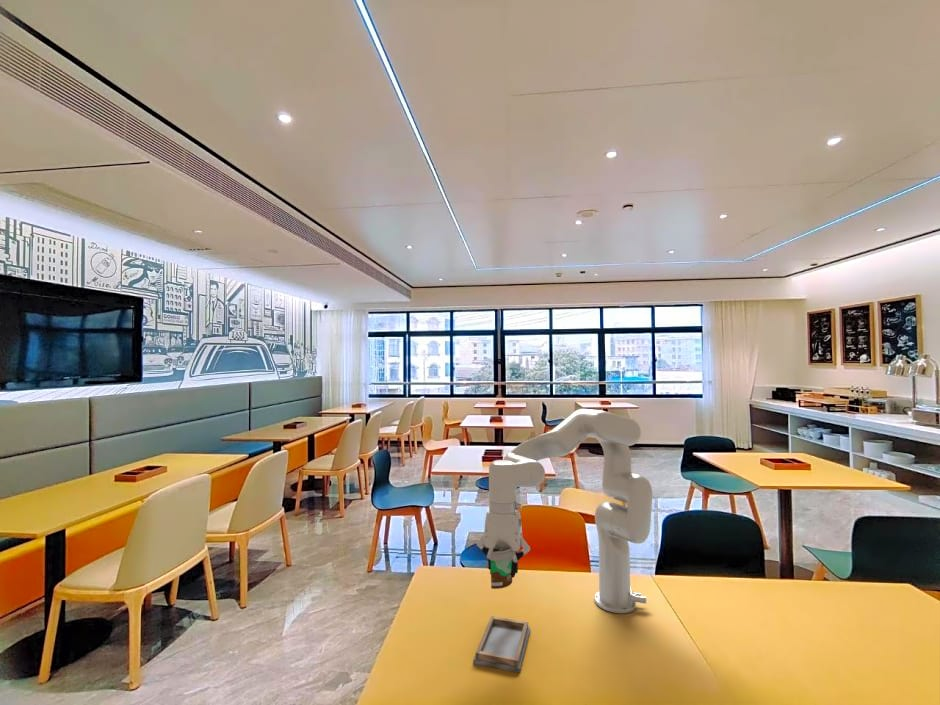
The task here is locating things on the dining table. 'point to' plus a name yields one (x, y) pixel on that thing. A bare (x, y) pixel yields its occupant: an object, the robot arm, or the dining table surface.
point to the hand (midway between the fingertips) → (503, 573)
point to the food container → (501, 568)
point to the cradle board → (503, 644)
